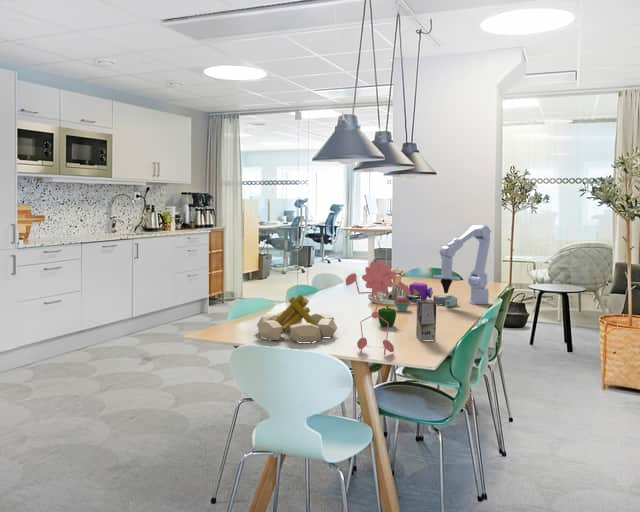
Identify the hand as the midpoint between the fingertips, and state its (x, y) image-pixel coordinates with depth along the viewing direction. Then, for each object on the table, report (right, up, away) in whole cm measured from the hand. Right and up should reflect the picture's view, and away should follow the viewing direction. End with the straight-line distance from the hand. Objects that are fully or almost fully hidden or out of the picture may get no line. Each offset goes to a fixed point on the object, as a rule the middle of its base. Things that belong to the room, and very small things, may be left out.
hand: (446, 292), depth 327 cm
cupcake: (-26, -9, -13) cm, 30 cm away
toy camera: (-11, -6, +20) cm, 23 cm away
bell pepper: (-38, -12, -52) cm, 65 cm away
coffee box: (-25, -15, -77) cm, 82 cm away
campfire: (-79, -14, -71) cm, 107 cm away
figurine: (-47, -17, -98) cm, 110 cm away
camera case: (+1, -7, +8) cm, 10 cm away
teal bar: (+3, -7, 0) cm, 8 cm away
